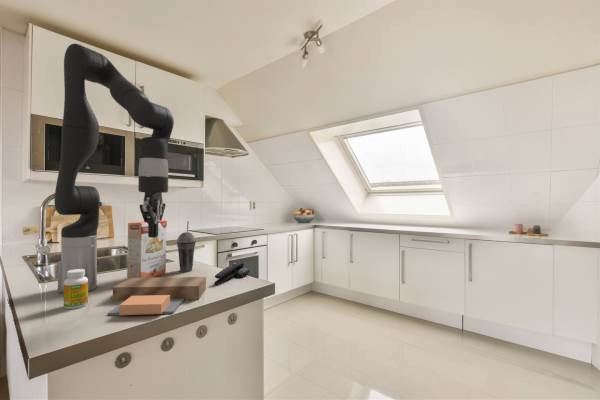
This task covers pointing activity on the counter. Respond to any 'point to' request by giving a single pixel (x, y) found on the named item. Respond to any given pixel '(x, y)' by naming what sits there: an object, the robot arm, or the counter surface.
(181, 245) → the beverage cup
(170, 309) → the slate mat
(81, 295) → the supplement bottle
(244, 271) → the can opener
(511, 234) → the counter surface
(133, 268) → the cracker box
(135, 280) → the panel
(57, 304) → the counter surface
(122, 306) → the terracotta tile
